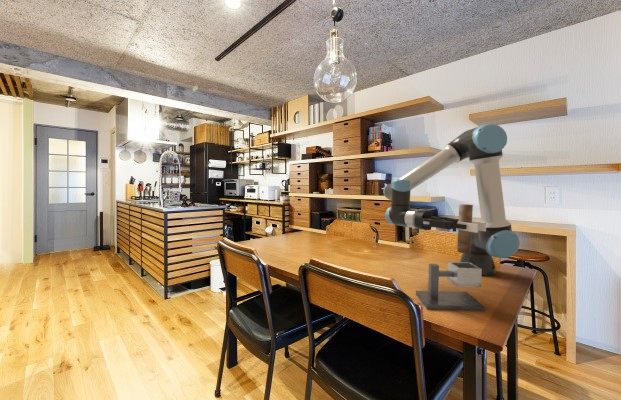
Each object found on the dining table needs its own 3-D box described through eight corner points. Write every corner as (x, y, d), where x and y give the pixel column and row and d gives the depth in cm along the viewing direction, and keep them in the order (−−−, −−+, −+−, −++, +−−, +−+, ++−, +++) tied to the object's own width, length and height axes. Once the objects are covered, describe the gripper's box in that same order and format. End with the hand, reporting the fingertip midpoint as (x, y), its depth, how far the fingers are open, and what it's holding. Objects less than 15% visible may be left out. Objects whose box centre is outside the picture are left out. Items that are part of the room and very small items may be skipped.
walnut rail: (467, 250, 98) (469, 204, 97) (473, 253, 94) (475, 205, 93) (455, 250, 98) (457, 204, 97) (460, 253, 94) (462, 205, 93)
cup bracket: (466, 295, 103) (467, 260, 102) (484, 310, 91) (486, 271, 90) (415, 294, 104) (416, 259, 103) (426, 309, 92) (427, 269, 91)
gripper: (433, 227, 115) (494, 236, 95) (404, 230, 107) (466, 242, 87) (433, 208, 115) (495, 214, 95) (405, 210, 106) (466, 217, 86)
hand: (481, 227), depth 91 cm, fingers closed on walnut rail, 4 cm apart
